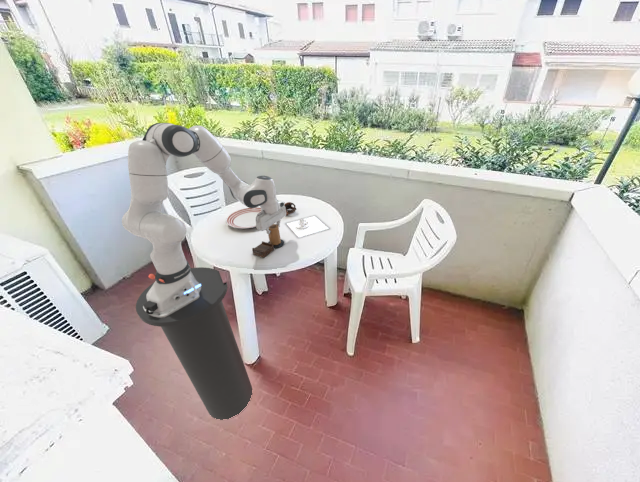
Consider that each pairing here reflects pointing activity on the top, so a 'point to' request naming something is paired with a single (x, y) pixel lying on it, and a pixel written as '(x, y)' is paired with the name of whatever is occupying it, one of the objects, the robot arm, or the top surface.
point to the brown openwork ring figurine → (289, 206)
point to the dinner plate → (243, 218)
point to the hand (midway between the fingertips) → (273, 230)
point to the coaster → (278, 244)
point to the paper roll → (274, 235)
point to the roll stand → (263, 249)
